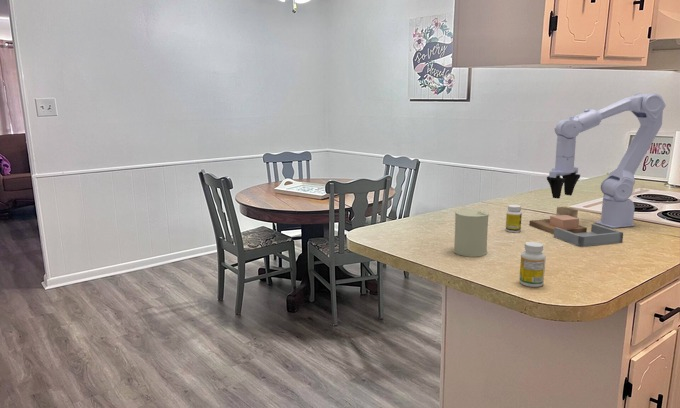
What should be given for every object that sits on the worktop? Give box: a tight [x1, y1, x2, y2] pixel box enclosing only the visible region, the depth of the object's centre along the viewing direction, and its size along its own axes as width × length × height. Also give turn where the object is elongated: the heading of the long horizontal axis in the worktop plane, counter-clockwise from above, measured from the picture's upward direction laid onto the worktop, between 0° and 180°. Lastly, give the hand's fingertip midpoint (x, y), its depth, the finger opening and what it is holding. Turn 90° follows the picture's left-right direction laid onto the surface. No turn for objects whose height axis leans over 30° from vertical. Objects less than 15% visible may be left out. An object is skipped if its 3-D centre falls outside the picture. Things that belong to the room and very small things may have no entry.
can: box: [453, 208, 490, 258], centre depth 139 cm, size 9×9×12 cm
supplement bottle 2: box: [519, 241, 546, 288], centre depth 115 cm, size 5×5×10 cm
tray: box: [553, 223, 624, 248], centre depth 150 cm, size 15×11×3 cm
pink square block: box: [549, 215, 580, 229], centre depth 160 cm, size 6×6×3 cm
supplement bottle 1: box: [505, 204, 523, 233], centre depth 161 cm, size 5×5×8 cm
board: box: [528, 218, 588, 235], centre depth 163 cm, size 11×14×2 cm
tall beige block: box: [555, 206, 579, 218], centre depth 171 cm, size 4×6×5 cm, turn 16°
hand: (562, 196), depth 166 cm, fingers open, 7 cm apart
